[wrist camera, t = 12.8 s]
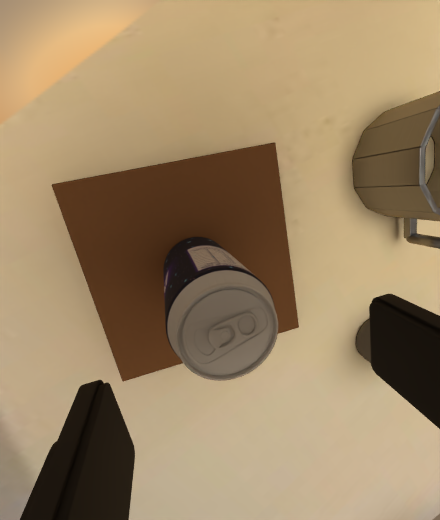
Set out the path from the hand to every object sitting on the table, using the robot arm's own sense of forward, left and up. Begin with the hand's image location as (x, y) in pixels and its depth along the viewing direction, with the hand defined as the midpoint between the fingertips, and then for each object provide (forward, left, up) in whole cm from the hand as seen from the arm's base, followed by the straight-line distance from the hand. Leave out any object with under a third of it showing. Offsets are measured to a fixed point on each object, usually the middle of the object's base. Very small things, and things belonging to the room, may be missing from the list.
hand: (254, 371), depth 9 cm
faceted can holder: (-3, +22, -16) cm, 27 cm away
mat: (0, 0, -16) cm, 16 cm away
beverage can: (0, 0, -15) cm, 15 cm away
